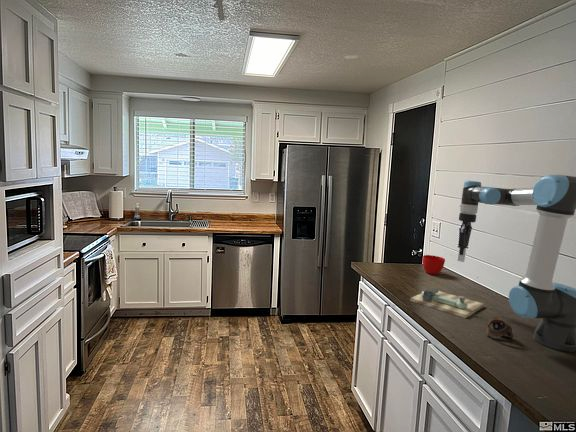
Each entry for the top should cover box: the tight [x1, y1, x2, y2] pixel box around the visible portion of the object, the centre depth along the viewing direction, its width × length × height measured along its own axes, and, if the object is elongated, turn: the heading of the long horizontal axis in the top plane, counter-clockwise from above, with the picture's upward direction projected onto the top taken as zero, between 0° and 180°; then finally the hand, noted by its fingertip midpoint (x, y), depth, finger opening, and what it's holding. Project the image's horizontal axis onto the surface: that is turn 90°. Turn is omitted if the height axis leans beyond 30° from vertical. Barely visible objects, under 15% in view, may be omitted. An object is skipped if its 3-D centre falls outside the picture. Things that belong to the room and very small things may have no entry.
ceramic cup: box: [422, 254, 446, 276], centre depth 255 cm, size 13×17×10 cm
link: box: [420, 290, 468, 309], centre depth 193 cm, size 22×5×2 cm, turn 48°
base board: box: [409, 290, 485, 319], centre depth 196 cm, size 26×25×7 cm
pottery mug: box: [485, 317, 514, 341], centre depth 161 cm, size 12×10×8 cm
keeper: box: [423, 287, 440, 302], centre depth 195 cm, size 3×10×4 cm, turn 138°
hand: (460, 261), depth 198 cm, fingers closed
